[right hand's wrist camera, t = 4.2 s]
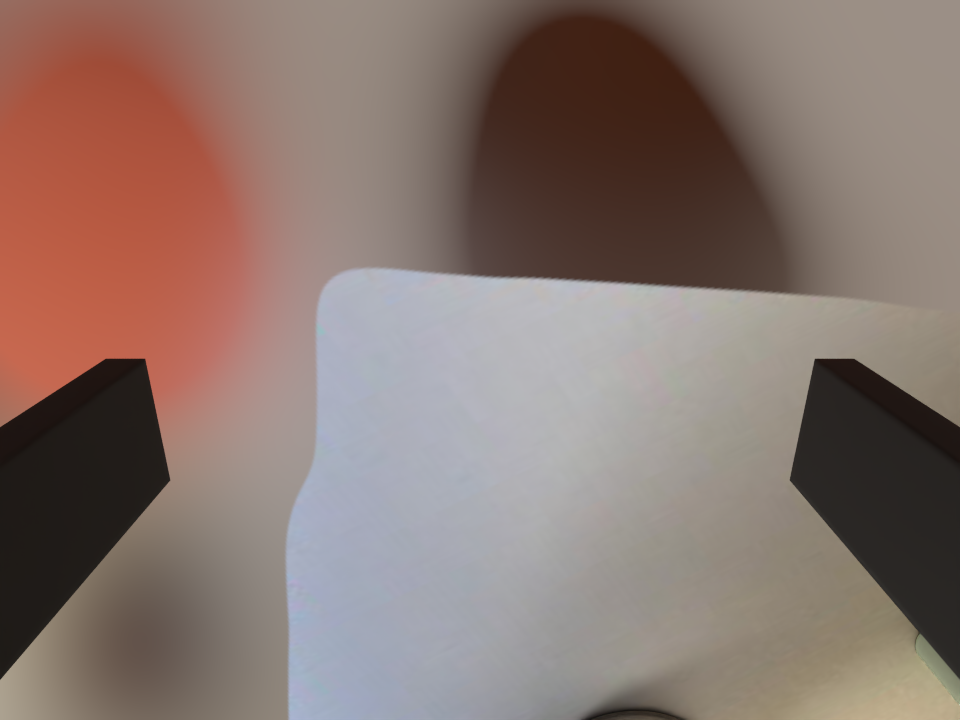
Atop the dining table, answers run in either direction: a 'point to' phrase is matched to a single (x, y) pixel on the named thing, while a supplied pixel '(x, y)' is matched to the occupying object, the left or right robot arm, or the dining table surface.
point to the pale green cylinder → (938, 667)
